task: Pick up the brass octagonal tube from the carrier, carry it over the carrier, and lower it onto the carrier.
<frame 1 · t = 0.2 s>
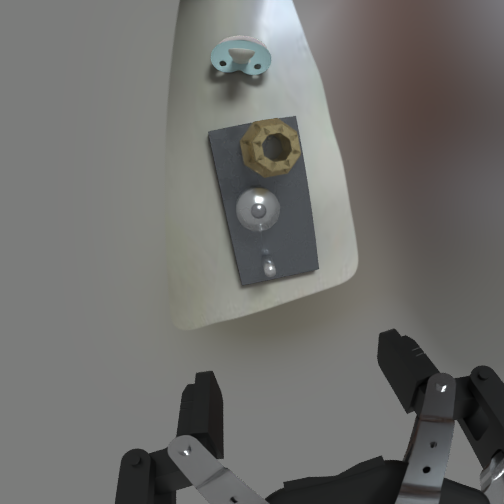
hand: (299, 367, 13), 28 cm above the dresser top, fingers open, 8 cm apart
brass octagonal tube: (269, 147, 35), point 1 cm above the dresser top, touching carrier
pacifier: (241, 56, 31), on the dresser top
carrier: (266, 202, 38), on the dresser top
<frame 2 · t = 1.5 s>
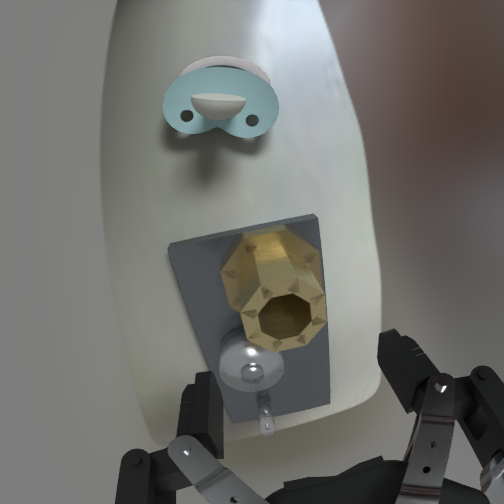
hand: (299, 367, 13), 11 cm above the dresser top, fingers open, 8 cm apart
brass octagonal tube: (271, 272, 22), point 1 cm above the dresser top, touching carrier
pacifier: (222, 96, 18), on the dresser top
carrier: (265, 339, 26), on the dresser top
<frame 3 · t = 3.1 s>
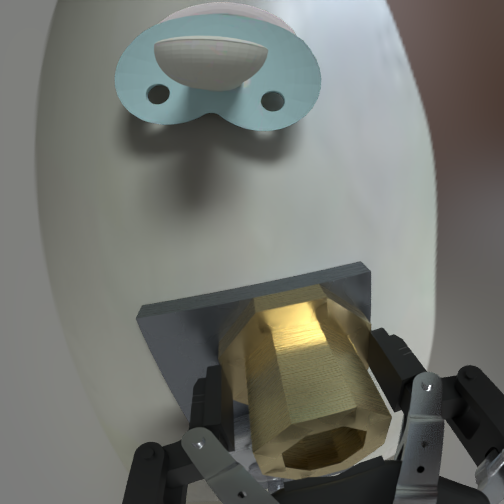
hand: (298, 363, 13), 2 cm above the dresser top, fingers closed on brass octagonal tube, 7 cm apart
brass octagonal tube: (295, 351, 14), point 1 cm above the dresser top, touching carrier, gripper
pacifier: (221, 64, 10), on the dresser top
carrier: (280, 417, 17), on the dresser top
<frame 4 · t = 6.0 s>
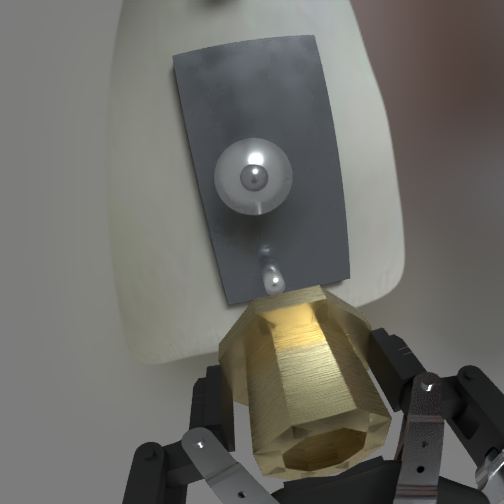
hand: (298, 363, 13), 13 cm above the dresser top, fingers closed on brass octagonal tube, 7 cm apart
brass octagonal tube: (295, 352, 14), point 12 cm above the dresser top, touching gripper
carrier: (268, 168, 22), on the dresser top
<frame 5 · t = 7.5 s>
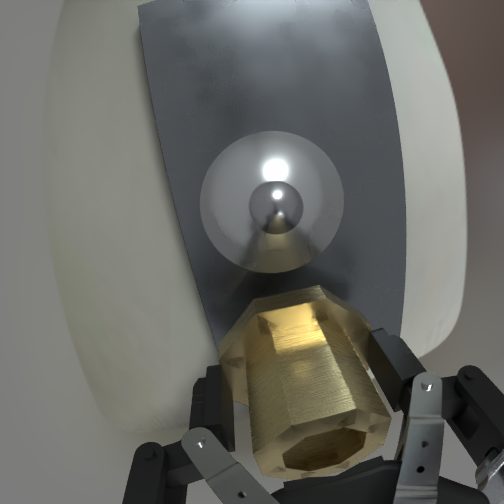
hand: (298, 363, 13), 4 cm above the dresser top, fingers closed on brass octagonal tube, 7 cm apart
brass octagonal tube: (295, 351, 14), point 3 cm above the dresser top, touching gripper
carrier: (293, 183, 14), on the dresser top
when the fingers open (3 cm above the dresser top, at t = 8.9 s): brass octagonal tube drops 1 cm, resting on carrier.
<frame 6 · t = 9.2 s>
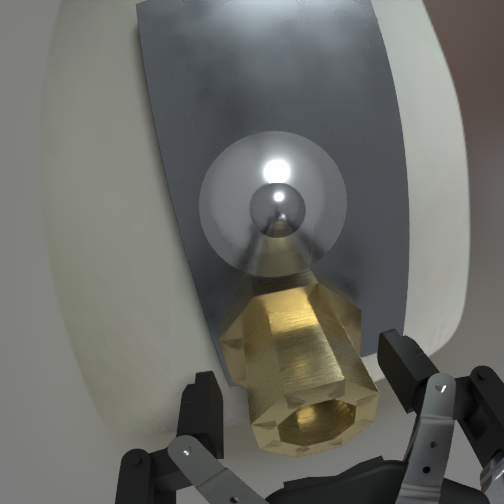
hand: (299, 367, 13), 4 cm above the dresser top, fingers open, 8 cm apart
brass octagonal tube: (290, 336, 15), point 1 cm above the dresser top, touching carrier
carrier: (294, 185, 13), on the dresser top
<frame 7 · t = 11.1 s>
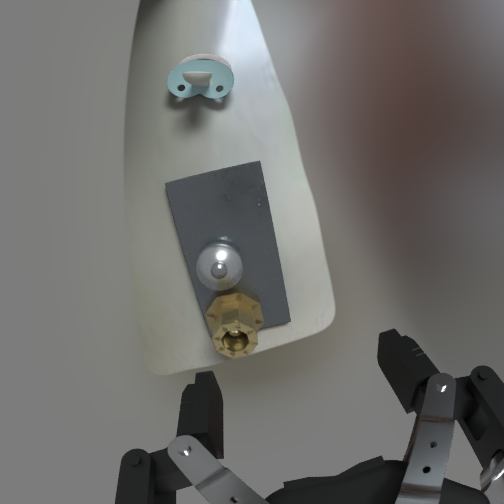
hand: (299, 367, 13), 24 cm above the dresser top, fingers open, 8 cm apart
brass octagonal tube: (234, 314, 37), point 1 cm above the dresser top, touching carrier
pacifier: (203, 77, 29), on the dresser top
carrier: (232, 255, 36), on the dresser top
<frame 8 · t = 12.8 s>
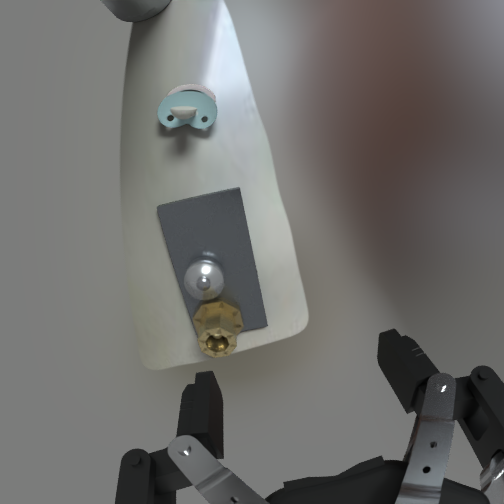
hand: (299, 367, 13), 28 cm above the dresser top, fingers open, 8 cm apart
brass octagonal tube: (218, 318, 43), point 1 cm above the dresser top, touching carrier
pacifier: (190, 106, 33), on the dresser top
carrier: (216, 268, 41), on the dresser top
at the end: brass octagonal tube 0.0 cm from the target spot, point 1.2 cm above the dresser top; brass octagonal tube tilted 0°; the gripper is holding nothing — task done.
